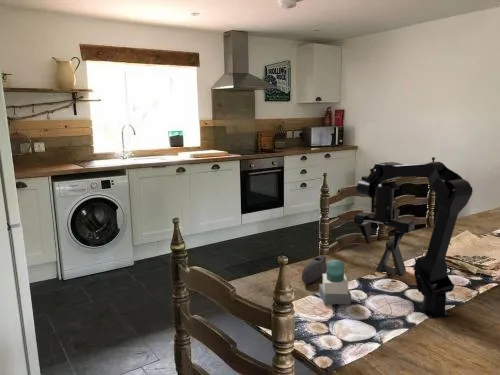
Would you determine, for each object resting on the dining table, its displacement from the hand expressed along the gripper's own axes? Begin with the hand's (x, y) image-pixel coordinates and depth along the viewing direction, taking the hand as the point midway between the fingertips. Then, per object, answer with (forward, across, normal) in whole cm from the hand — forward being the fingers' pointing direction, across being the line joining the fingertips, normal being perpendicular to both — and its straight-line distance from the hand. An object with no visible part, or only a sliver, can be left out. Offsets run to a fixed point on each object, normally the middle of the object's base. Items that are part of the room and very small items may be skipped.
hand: (381, 246), depth 132 cm
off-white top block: (+10, +6, +19) cm, 23 cm away
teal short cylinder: (+6, +6, +19) cm, 21 cm away
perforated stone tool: (+13, +19, +11) cm, 26 cm away
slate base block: (+13, +6, +19) cm, 24 cm away
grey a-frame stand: (+13, +1, -13) cm, 18 cm away
